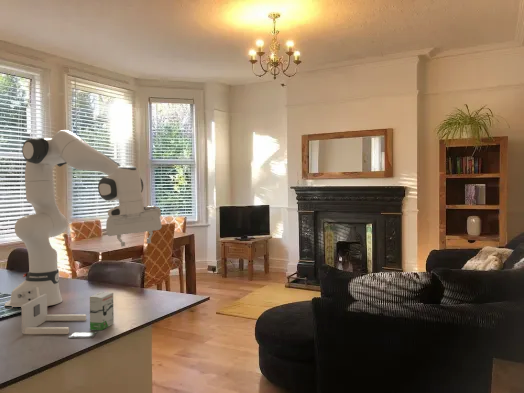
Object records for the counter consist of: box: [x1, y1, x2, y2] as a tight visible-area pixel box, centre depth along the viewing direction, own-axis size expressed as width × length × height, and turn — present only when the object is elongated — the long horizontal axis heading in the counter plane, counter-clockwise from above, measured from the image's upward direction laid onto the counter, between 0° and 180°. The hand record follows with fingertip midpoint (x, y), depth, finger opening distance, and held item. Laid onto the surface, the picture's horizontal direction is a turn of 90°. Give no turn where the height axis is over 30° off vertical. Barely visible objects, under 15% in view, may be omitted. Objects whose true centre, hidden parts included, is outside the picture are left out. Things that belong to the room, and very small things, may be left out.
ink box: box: [89, 291, 115, 331], centre depth 166 cm, size 9×5×12 cm, turn 168°
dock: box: [20, 294, 87, 335], centre depth 167 cm, size 16×16×10 cm
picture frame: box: [68, 331, 98, 339], centre depth 157 cm, size 8×4×1 cm, turn 90°
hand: (136, 244), depth 174 cm, fingers open, 8 cm apart
